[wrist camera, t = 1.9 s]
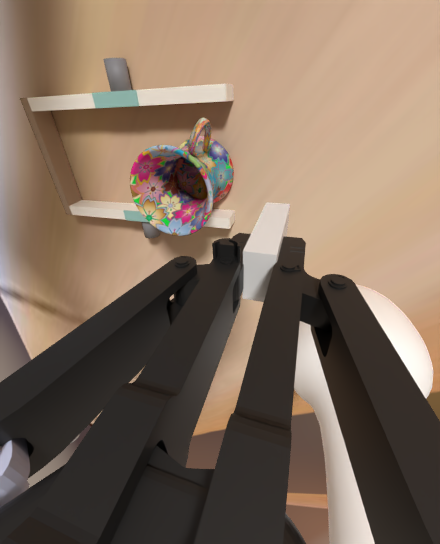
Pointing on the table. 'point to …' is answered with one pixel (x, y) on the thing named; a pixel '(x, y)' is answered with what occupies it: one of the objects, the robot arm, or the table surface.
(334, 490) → the vase
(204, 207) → the mug
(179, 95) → the teal-striped rail frame
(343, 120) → the table surface
